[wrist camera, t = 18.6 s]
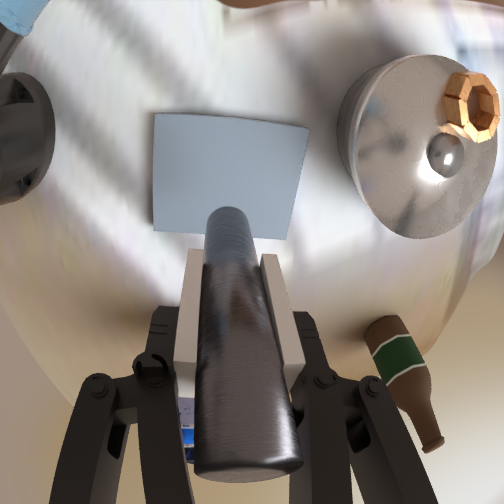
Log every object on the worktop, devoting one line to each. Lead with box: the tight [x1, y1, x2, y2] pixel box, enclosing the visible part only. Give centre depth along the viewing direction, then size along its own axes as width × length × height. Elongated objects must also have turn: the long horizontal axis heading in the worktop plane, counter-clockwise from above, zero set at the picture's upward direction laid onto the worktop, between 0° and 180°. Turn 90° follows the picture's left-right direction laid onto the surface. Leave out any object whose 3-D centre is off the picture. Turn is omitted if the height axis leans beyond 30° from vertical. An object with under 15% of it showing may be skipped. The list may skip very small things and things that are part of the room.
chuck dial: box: [349, 55, 500, 239], centre depth 19 cm, size 18×18×4 cm
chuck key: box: [194, 206, 304, 483], centre depth 13 cm, size 3×3×16 cm
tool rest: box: [153, 113, 310, 240], centre depth 26 cm, size 14×12×1 cm
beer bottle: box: [364, 316, 444, 453], centre depth 34 cm, size 8×8×24 cm
